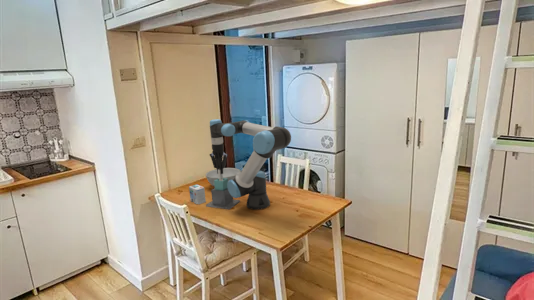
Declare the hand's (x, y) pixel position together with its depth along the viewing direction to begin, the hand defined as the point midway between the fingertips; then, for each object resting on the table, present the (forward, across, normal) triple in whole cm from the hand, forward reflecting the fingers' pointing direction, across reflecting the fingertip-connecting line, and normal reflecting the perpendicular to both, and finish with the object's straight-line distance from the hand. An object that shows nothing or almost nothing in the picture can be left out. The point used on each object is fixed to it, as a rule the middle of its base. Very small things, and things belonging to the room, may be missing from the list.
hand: (220, 178), depth 219 cm
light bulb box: (+18, -20, -1) cm, 27 cm away
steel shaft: (+16, 0, 0) cm, 16 cm away
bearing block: (+18, 0, 0) cm, 18 cm away
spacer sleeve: (+7, 0, 0) cm, 7 cm away
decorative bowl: (+18, -18, +30) cm, 39 cm away
